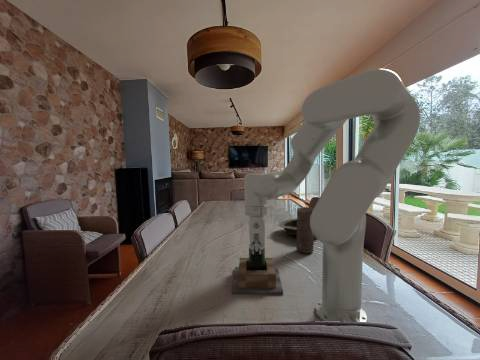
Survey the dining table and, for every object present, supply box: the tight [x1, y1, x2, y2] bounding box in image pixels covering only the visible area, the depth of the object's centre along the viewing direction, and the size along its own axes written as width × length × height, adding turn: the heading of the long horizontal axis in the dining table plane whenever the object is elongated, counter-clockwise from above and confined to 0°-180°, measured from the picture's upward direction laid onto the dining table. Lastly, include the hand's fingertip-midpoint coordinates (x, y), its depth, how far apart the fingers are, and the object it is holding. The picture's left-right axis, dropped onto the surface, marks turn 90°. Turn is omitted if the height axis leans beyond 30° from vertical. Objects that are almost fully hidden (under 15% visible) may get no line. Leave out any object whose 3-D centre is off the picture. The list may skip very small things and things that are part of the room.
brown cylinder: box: [295, 206, 314, 254], centre depth 103 cm, size 8×7×20 cm
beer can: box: [248, 243, 266, 270], centre depth 79 cm, size 5×5×12 cm
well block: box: [231, 257, 284, 296], centre depth 80 cm, size 16×16×6 cm
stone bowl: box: [277, 218, 316, 240], centre depth 126 cm, size 25×25×9 cm
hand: (256, 258), depth 79 cm, fingers open, 9 cm apart
